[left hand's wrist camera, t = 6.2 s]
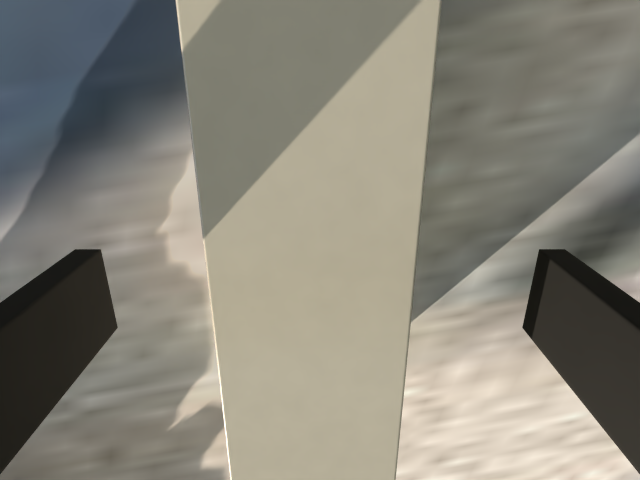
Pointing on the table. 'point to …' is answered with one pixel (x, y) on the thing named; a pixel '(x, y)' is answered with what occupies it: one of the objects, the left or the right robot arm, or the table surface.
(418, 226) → the post
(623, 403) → the left robot arm
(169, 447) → the table surface
